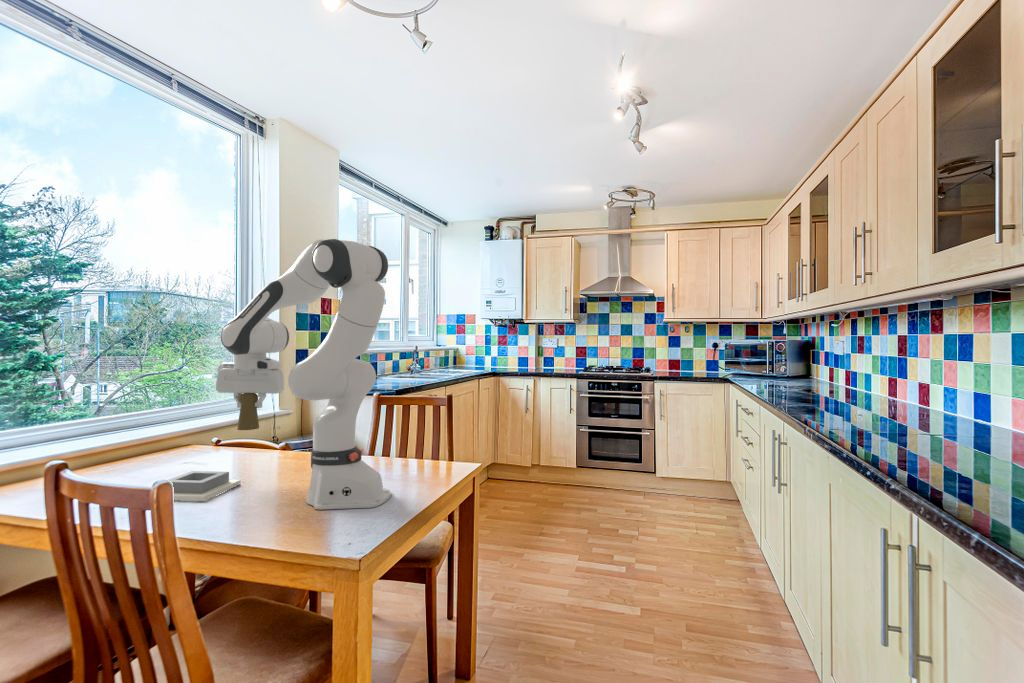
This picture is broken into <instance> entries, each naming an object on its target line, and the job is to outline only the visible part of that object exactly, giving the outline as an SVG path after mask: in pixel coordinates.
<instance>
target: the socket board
mask: <svg viewBox="0 0 1024 683" xmlns="http://www.w3.org/2000/svg"><path fill="white" fill-rule="evenodd" d="M168 480H169V481H171V482H172V483H173V487H174V500H175V501H174V502H178V501H177V500H181V501H180V502H197V501H205V502H207V501H209V500H211V499H213V498H215V497H217V496H216V495H218V494H220V493H222V492H224V491H226V490H228V491H230V490H232V489H231V488H233V487H235V486H237V485H239V484H240V485H241V479H230V471H208V470H207V471H205V470H201V471H199V470H191V471H188V472H186V473H183V474H181V475H177V476H175V477H174V476H173V477H172V478H169V479H168ZM240 485H239V486H240ZM237 487H238V486H237ZM235 488H236V487H235ZM229 489H230V490H229ZM233 489H234V488H233ZM226 492H227V491H226ZM224 493H225V492H224ZM222 494H223V493H222ZM220 495H221V494H220ZM214 496H215V497H214ZM218 496H219V495H218ZM212 497H213V498H212ZM210 498H211V499H210ZM208 499H209V500H208ZM206 500H207V501H206Z"/></svg>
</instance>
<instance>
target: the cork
mask: <svg viewBox="0 0 1024 683" xmlns="http://www.w3.org/2000/svg"><path fill="white" fill-rule="evenodd" d="M258 400H259V397H258V393H242V394H241V395H240V396H239V401H240V403H241V408H240V409H239V415H238V422H237V429H236V430H237V431H252V430H253V431H254V430H258V429H260V423H259V416H258V408H255V402H257V401H258Z"/></svg>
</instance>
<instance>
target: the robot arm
mask: <svg viewBox="0 0 1024 683" xmlns="http://www.w3.org/2000/svg"><path fill="white" fill-rule="evenodd" d="M388 271H389V261H388V257H387V256H386V255H385V253H384V251H382V250H380V249H379V248H377V247H375V246H372V245H366V244H362V243H359V242H357V241H352V240H342V239H340V240H339V239H337V238H330V239H329V238H328V239H317V240H315V241H313V242H312V243H310V245H308V246H307V247H306V248H305V249H304V250H303V251H302V252H301V254H300V255H299V256H298V258H297V259H296V261H294V262H293V264H292V265H291V267H290V268H289V269H287V271H286V272H285V273H283V274H281V276H280V277H278V278H277V279H275V280H273V281H271V282H270V283H269V282H268V284H266V285H265V286H264V287H263V288H261V290H260V291H259V292H258V293H257V294H256V295H255V296H254V297H253V298H252V299H251V300H250V301H249V303H248V304H247V305H246V306H245V307H244V308H243V309H242V310H241V311H240V312H238V314H237V315H236V316H235V317H233V318H231V319H230V320H229V321H228V322H227V323H226V324H225V325H224V326H223V328H222V330H221V332H220V342H221V343H222V345H223V346H224V348H225V349H226V350H227V351H228V352H230V353H231V354H233V362H223V363H221V364H219V365H218V368H217V376H216V383H215V390H216V392H217V393H219V394H220V393H223V394H225V393H226V394H233V395H232V396H233V398H234V400H235V402H236V408H241V403H240V401H239V396H240V395H241V394H243V393H256V394H257V395H258V401H257V402H255V408H257V409H262V408H263V403H264V401H265V399H266V397H267V394H273V395H274V394H280V393H283V391H284V390H285V378H284V373H283V371H282V370H281V369H282V367H283V363H282V362H281V361H280V360H276V359H273V358H270V357H267V354H274V353H281V352H283V351H284V350H285V349H286V348H287V346H288V344H289V341H290V333H289V329H288V328H287V326H286V325H285V324H284V323H282V322H279V321H277V320H273V319H272V318H269V316H270V315H271V314H272V313H274V312H275V311H278V310H280V309H283V308H287V307H292V306H293V307H294V306H300V305H307V304H311V303H314V302H316V301H317V300H319V299H320V298H321V297H322V296H323V295H324V294H325V293H326V292H327V291H328V289H329V288H330V287H332V288H334V289H335V288H336V289H338V288H341V291H342V297H341V300H340V302H339V305H338V308H337V310H336V313H335V315H334V318H333V321H332V323H331V326H330V329H329V331H328V333H327V334H326V336H325V338H324V339H323V341H322V342H321V344H319V345H318V347H317V348H316V349H315V350H314V351H313V352H312V353H311V354H310V355H308V357H305V358H304V359H303V360H301V361H299V362H298V363H295V365H293V367H292V368H291V370H290V371H289V375H288V387H289V390H290V392H291V393H292V395H293V396H294V397H295V398H297V399H301V400H306V401H307V400H308V401H321V400H328V403H327V406H326V407H325V408H324V410H323V411H322V412H321V413H320V414H318V415H317V416H316V417H315V419H314V420H313V424H312V448H311V451H310V467H311V477H310V482H309V484H310V485H309V489H308V493H307V496H306V499H305V502H306V504H308V505H311V506H313V508H314V509H315V510H321V511H322V510H338V509H339V510H340V509H341V510H342V509H367V508H370V509H371V508H376V507H379V506H381V505H382V504H384V503H386V502H387V501H388V500H389V499H390V497H391V495H392V492H391V490H390V489H388V488H384V486H383V479H382V477H381V474H380V472H379V471H377V470H376V469H374V468H373V467H371V466H370V465H368V464H367V463H366V462H365V461H363V460H362V454H363V453H364V448H362V449H359V448H358V447H357V446H356V425H357V417H358V412H359V410H360V407H361V405H362V402H363V400H364V399H365V398H366V396H367V395H368V393H370V391H372V389H373V388H375V384H376V380H377V375H376V374H377V373H376V369H375V368H374V366H373V365H372V363H370V362H369V361H366V360H363V359H358V357H360V356H361V355H363V354H364V353H365V352H366V351H368V349H369V348H370V345H371V343H372V340H373V337H374V335H375V332H376V330H377V327H378V324H379V323H380V322H379V321H380V319H381V316H382V312H383V308H384V305H385V304H384V303H385V298H386V291H385V288H384V287H383V285H382V284H380V283H379V282H380V281H382V280H383V279H384V278H385V277H386V275H387V274H388Z"/></svg>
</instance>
